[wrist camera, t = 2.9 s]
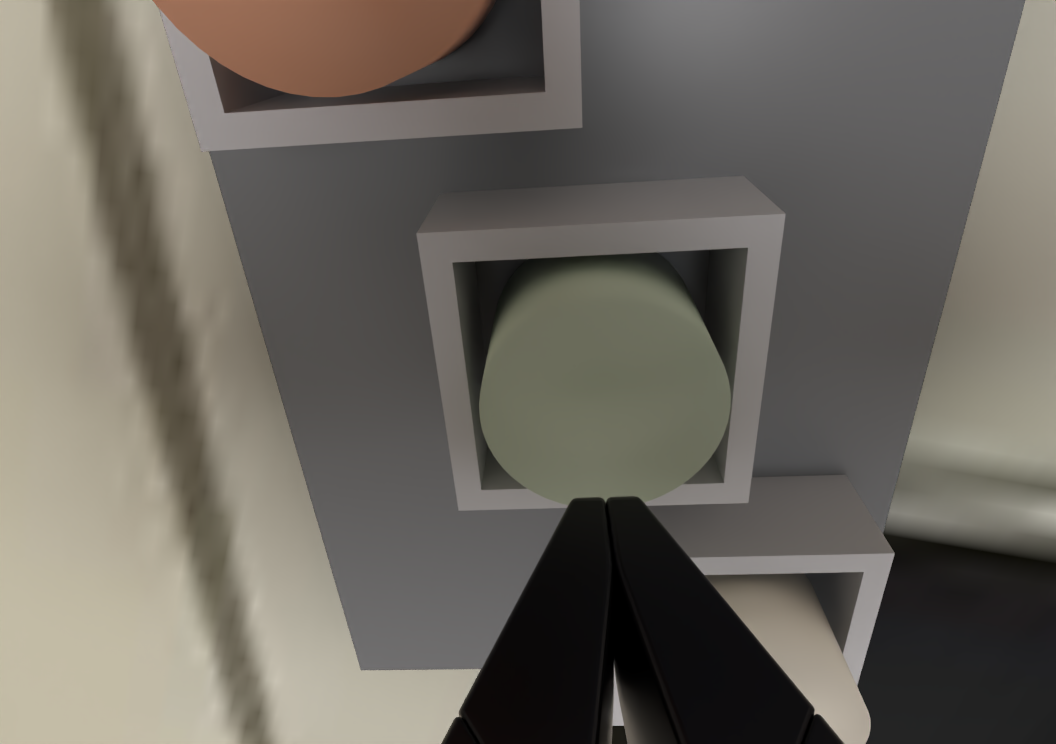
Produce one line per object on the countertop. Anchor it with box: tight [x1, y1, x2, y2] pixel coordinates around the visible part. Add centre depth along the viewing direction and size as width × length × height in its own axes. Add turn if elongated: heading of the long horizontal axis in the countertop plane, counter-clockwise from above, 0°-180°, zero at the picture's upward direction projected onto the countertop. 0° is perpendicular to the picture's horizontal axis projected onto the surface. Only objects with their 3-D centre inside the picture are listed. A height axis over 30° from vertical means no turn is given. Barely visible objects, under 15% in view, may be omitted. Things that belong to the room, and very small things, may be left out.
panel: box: [159, 0, 1025, 726], centre depth 13 cm, size 14×22×4 cm, turn 4°
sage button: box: [479, 252, 731, 505], centre depth 12 cm, size 4×4×3 cm
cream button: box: [705, 573, 871, 744], centre depth 14 cm, size 4×4×3 cm
